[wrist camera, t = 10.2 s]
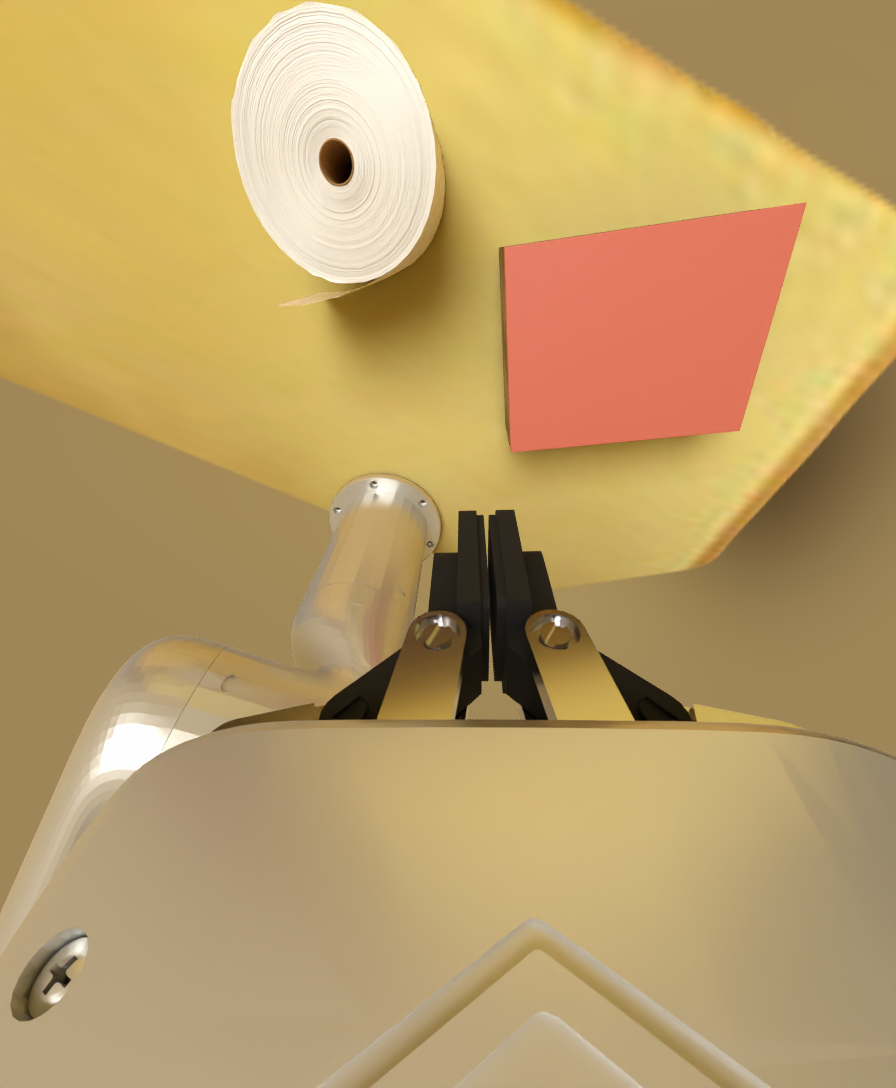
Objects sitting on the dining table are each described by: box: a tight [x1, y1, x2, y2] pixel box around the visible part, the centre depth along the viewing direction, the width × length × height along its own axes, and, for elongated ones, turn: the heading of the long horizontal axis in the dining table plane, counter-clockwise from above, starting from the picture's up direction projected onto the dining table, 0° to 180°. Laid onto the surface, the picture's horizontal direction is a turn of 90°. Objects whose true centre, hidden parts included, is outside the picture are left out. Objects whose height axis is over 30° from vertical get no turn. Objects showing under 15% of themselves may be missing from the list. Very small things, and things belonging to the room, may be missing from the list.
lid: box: [504, 203, 806, 452], centre depth 29 cm, size 14×18×1 cm
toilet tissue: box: [231, 1, 446, 306], centre depth 25 cm, size 11×12×10 cm
